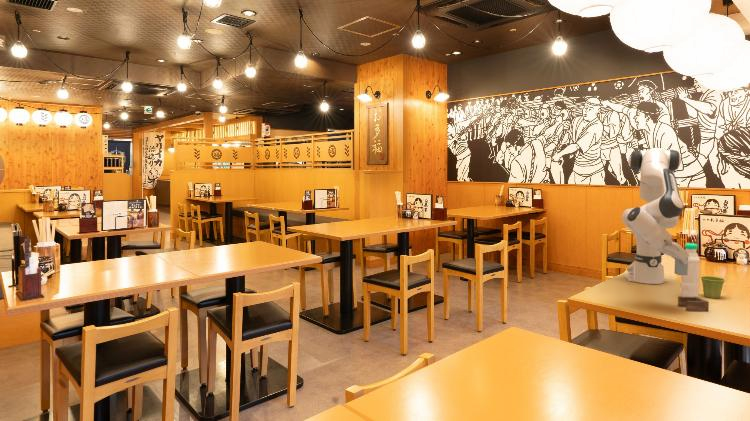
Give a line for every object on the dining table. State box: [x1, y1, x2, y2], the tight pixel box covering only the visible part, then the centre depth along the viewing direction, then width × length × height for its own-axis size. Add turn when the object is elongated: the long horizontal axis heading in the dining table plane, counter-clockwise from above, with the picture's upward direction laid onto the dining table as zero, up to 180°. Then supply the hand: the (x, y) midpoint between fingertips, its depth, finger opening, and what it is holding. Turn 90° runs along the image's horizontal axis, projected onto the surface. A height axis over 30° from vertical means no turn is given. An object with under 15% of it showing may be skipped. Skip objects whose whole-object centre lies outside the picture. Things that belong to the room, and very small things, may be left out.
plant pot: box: [700, 275, 726, 299], centre depth 220 cm, size 9×9×9 cm
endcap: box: [677, 296, 710, 312], centre depth 203 cm, size 8×8×4 cm
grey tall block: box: [673, 258, 688, 276], centre depth 204 cm, size 4×4×10 cm
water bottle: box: [679, 242, 701, 298], centre depth 219 cm, size 7×7×25 cm
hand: (683, 261), depth 204 cm, fingers closed on grey tall block, 3 cm apart
